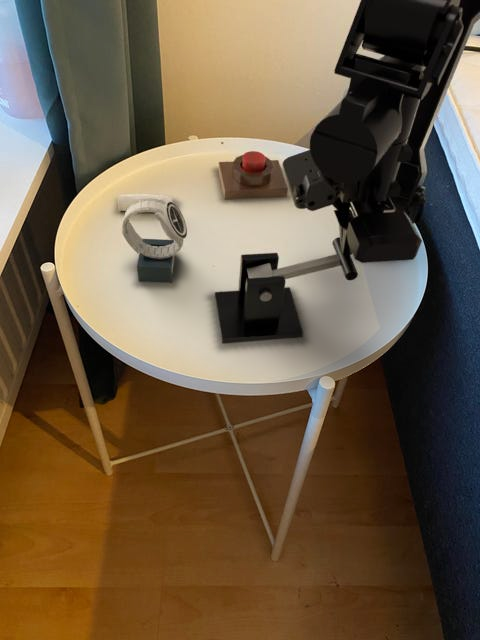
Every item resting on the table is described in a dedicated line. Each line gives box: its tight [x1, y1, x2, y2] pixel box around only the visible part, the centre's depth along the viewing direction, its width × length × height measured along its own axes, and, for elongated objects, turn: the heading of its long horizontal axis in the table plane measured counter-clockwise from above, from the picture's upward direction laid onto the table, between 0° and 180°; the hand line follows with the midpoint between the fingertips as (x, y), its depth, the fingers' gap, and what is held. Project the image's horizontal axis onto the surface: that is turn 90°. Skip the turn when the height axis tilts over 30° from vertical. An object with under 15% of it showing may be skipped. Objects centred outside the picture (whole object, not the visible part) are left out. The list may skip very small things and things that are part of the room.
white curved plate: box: [117, 193, 173, 213], centre depth 83 cm, size 4×8×3 cm, turn 90°
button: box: [242, 150, 266, 173], centre depth 86 cm, size 4×4×2 cm
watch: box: [121, 198, 188, 284], centre depth 71 cm, size 6×8×11 cm
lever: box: [247, 236, 359, 281], centre depth 64 cm, size 12×6×2 cm, turn 98°
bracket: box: [214, 252, 304, 344], centre depth 67 cm, size 10×8×9 cm
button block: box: [218, 154, 289, 200], centre depth 88 cm, size 10×8×4 cm
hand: (346, 253), depth 64 cm, fingers closed, pressing on lever
